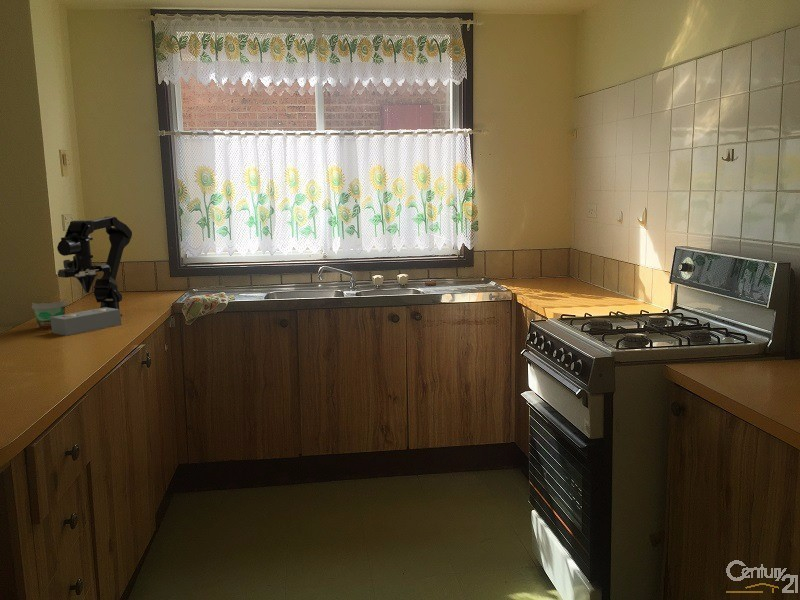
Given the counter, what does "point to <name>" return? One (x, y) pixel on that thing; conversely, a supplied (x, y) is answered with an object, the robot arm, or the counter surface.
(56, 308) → the food container
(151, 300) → the counter surface
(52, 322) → the grey peg board
